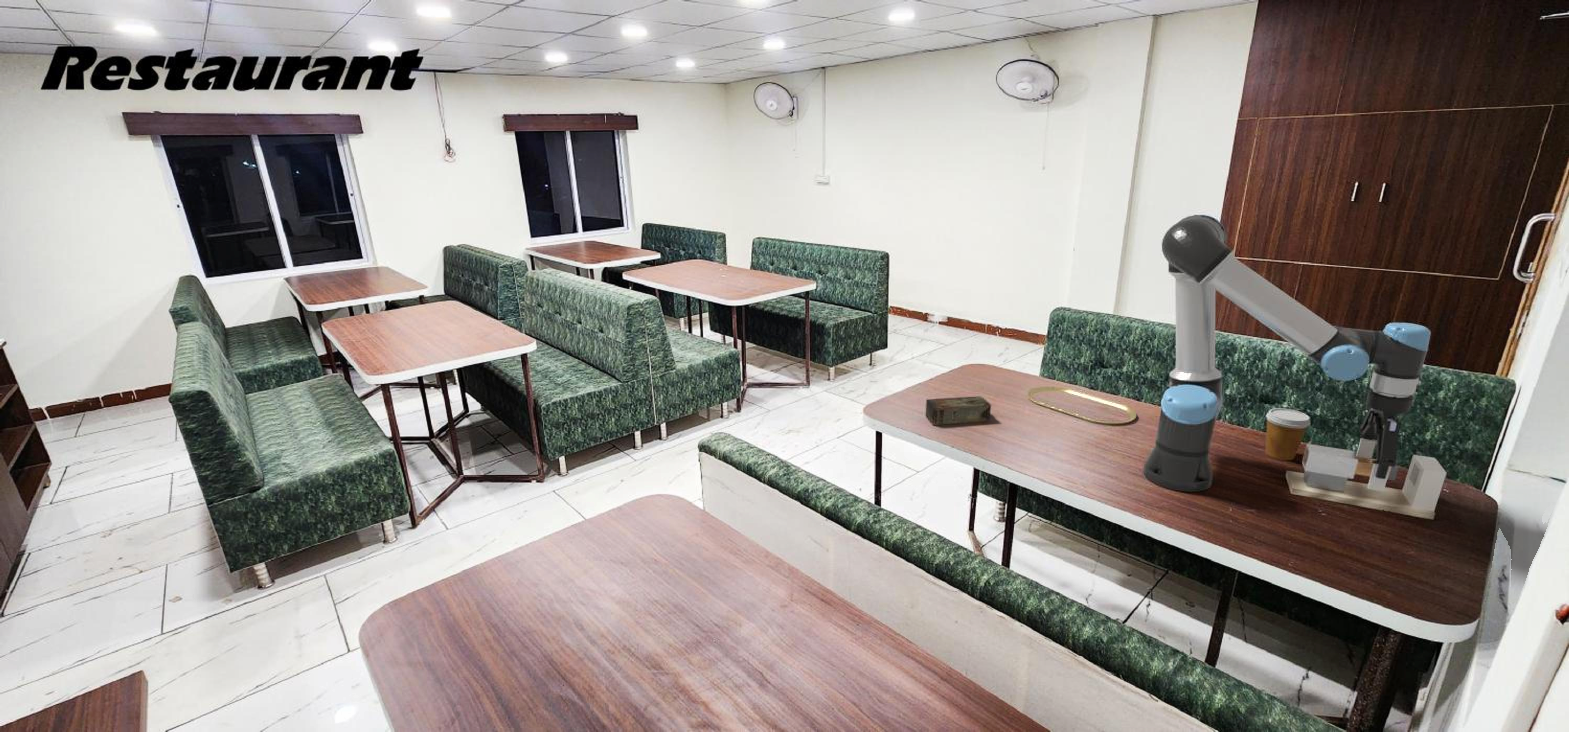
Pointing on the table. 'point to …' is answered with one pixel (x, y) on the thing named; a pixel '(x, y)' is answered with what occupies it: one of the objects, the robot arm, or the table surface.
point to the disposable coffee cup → (1285, 432)
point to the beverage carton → (957, 410)
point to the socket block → (1423, 483)
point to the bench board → (1358, 496)
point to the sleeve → (1328, 467)
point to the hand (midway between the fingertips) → (1368, 476)
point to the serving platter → (1087, 396)
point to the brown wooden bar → (1366, 467)
